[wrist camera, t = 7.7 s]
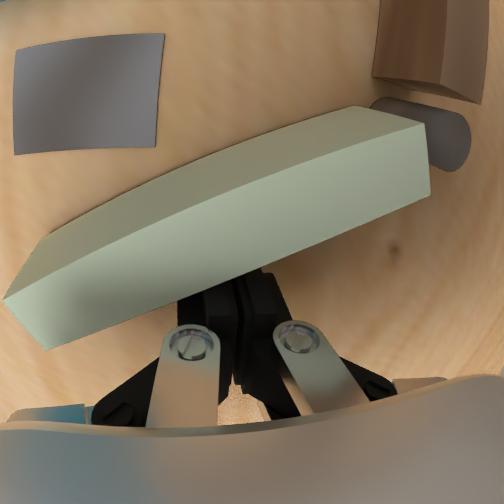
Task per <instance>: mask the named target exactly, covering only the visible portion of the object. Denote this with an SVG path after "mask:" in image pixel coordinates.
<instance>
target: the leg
mask: <svg viewBox="0 0 504 504" xmlns="http://www.w3.org/2000/svg"><path fill="white" fill-rule="evenodd" d="M430 195H431V192H430V175H429V162H428V151H427V141H426V133H425V125H424V123H421V122H418V121H415V120H411V119H408V118H404V117H400V116H397V115H393V114H389V113H385V112H381V111H377V110H373V109H369V108H364V107H360V106H351V107H348V108H344V109H341V110H337V111H334V112H330V113H327V114H324V115H320V116H317V117H314V118H311V119H307V120H304V121H301V122H298V123H295V124H292V125H289V126H286V127H283V128H280V129H277V130H274V131H271V132H269V133H266V134H263V135H260V136H257V137H255V138H252V139H249V140H247V141H244V142H241V143H239V144H236V145H233V146H231V147H228V148H226V149H223V150H221V151H218V152H216V153H213V154H211V155H208V156H206V157H203V158H201V159H199V160H196V161H194V162H191V163H189V164H187V165H185V166H182V167H180V168H178V169H175V170H173V171H171V172H169V173H166V174H164V175H162V176H160V177H158V178H155V179H153V180H151V181H149V182H147V183H145V184H143V185H141V186H139V187H136V188H134V189H132V190H130V191H128V192H126V193H124V194H122V195H120V196H118V197H116V198H114V199H112V200H110V201H108V202H106V203H105V204H103V205H101V206H99V207H97V208H95V209H93V210H91V211H89V212H88V213H86V214H84V215H82V216H80V217H78V218H77V219H75V220H73V221H71V222H69V223H68V224H66V225H64V226H62V227H61V228H59V229H57V230H55V231H54V232H52V233H50V234H49V235H47V236H45V237H44V238H42V239H41V240H40V242H39V243H38V245H37V246H36V248H35V249H34V251H33V252H32V253H31V255H30V256H29V258H28V259H27V261H26V262H25V264H24V265H23V267H22V269H21V270H20V272H19V273H18V275H17V276H16V278H15V280H14V281H13V283H12V285H11V286H10V288H9V290H8V291H7V293H6V295H5V296H4V298H3V300H2V302H3V303H4V304H5V305H6V307H7V308H8V309H9V310H10V312H11V313H12V314H13V315H14V316H15V318H16V319H17V320H18V321H19V322H20V323H21V325H22V326H23V327H24V328H25V329H26V330H27V331H28V332H29V334H30V335H31V336H32V337H33V338H34V339H35V340H36V341H37V342H38V343H39V344H40V345H41V347H42V348H43V349H44V350H45V351H47V350H50V349H53V348H55V347H58V346H61V345H63V344H66V343H69V342H71V341H74V340H77V339H79V338H82V337H85V336H87V335H90V334H93V333H95V332H98V331H100V330H103V329H106V328H108V327H111V326H113V325H116V324H119V323H121V322H124V321H126V320H129V319H132V318H134V317H137V316H139V315H142V314H144V313H147V312H150V311H152V310H155V309H157V308H160V307H162V306H165V305H167V304H170V303H173V302H175V301H178V300H180V299H183V298H185V297H188V296H190V295H193V294H195V293H198V292H200V291H203V290H205V289H208V288H210V287H213V286H215V285H218V284H220V283H223V282H225V281H228V280H230V279H233V278H235V277H238V276H240V275H242V274H245V273H247V272H250V271H252V270H255V269H257V268H260V267H262V266H265V265H267V264H269V263H272V262H274V261H277V260H279V259H282V258H284V257H286V256H289V255H291V254H294V253H296V252H299V251H301V250H303V249H306V248H308V247H311V246H313V245H315V244H318V243H320V242H323V241H325V240H327V239H330V238H332V237H334V236H337V235H339V234H342V233H344V232H346V231H349V230H351V229H353V228H356V227H358V226H360V225H363V224H365V223H367V222H370V221H372V220H374V219H377V218H379V217H381V216H384V215H386V214H388V213H391V212H393V211H395V210H398V209H400V208H402V207H405V206H407V205H409V204H412V203H414V202H416V201H418V200H421V199H423V198H425V197H428V196H430Z"/></svg>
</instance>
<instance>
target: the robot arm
mask: <svg viewBox="0 0 504 504" xmlns="http://www.w3.org/2000/svg"><path fill="white" fill-rule="evenodd" d="M177 313H178V327H176V328H174V329H172V330H171V331H170V332H169V333H168V334H167V335H166V336H165V338H164V341H163V345H162V349H161V353H160V357H158V358H157V359H156V360H154V361H153V362H152V363H150V364H149V365H148V366H146V367H145V368H144V369H142V370H141V371H139V372H138V373H137V374H135V375H134V376H133V377H131V378H130V379H128V380H127V381H126V382H124V383H123V384H122V385H120V386H119V387H117V388H116V389H115V390H113V391H112V392H110V393H109V394H108V395H106V396H105V397H103V398H102V399H101V400H100V401H99V402H98V403H97V404H96V405H95V406H90V407H85V405H84V404H76V405H67V406H56V407H44V408H30V409H22V410H18V411H16V412H15V413H13V414H12V415H11V416H10V418H9V419H8V421H7V423H1V424H0V504H504V377H503V376H499V375H495V374H472V375H466V376H460V377H455V378H452V379H446V378H442V377H431V378H409V379H393V380H392V382H390V381H389V380H387V379H386V378H384V377H382V376H380V375H378V374H376V373H374V372H371V371H369V370H367V369H365V368H363V367H361V366H358V365H356V364H354V363H352V362H350V361H348V360H346V359H344V358H342V357H339V356H338V355H337V353H336V352H335V350H334V349H333V348H332V346H331V345H330V343H329V342H328V340H327V339H326V338H325V336H324V335H323V333H322V332H321V331H320V330H319V329H318V328H317V327H315V326H313V325H312V324H310V323H307V322H304V321H298V320H292V317H291V315H290V312H289V310H288V308H287V305H286V303H285V300H284V298H283V296H282V293H281V291H280V289H279V286H278V284H277V281H276V279H275V277H274V275H273V274H272V273H262V270H261V268H257V269H255V270H252V271H250V272H247V273H245V274H242V275H240V276H238V277H235V278H233V279H230V280H228V281H225V282H223V283H220V284H218V285H215V286H213V287H210V288H208V289H205V290H203V291H200V292H198V293H195V294H193V295H190V296H188V297H185V298H183V299H180V300H178V301H177ZM232 373H233V378H234V383H235V385H241V389H242V393H243V394H249V395H251V396H253V397H254V398H256V399H258V402H257V403H258V407H259V410H260V412H261V414H262V416H263V419H264V422H255V423H246V424H234V425H222V426H217V419H218V405H219V404H220V403H221V402H223V401H224V400H225V399H226V398H227V397H228V392H229V385H231V379H232Z"/></svg>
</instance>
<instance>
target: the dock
mask: <svg viewBox="0 0 504 504" xmlns="http://www.w3.org/2000/svg"><path fill="white" fill-rule="evenodd" d="M488 31H489V0H381V6H380V16H379V26H378V34H377V43H376V50H375V58H374V65H373V72H372V76H373V77H376V78H379V79H382V80H385V81H388V82H391V83H394V84H397V85H400V86H402V87H405V88H408V89H411V90H413V91H419V92H425V93H430V94H435V95H440V96H445V97H450V98H454V99H459V100H463V101H467V102H471V103H475V104H479V105H481V101H482V94H483V87H484V80H485V71H486V61H487V49H488ZM164 37H165V34H124V35H109V36H98V37H88V38H80V39H73V40H66V41H60V42H54V43H48V44H43V45H38V46H33V47H28V48H24V49H20V50H16V55H15V66H14V82H13V139H14V155H21V154H30V153H39V152H50V151H63V150H77V149H96V148H127V147H155V141H156V121H157V106H158V93H159V82H160V71H161V62H162V53H163V44H164ZM370 109H373V110H377V111H381V112H385V113H389V114H393V115H397V116H400V117H404V118H408V119H411V120H415V121H418V122H421V123H424V125H425V133H426V141H427V151H428V162H429V164H431V165H433V166H435V167H437V168H439V169H441V170H443V171H446V172H452V171H455V170H457V169H459V168H460V167H461V166H462V165H463V163H464V162H465V160H466V159H467V157H468V154H469V151H470V147H471V132H470V128H469V125H468V123H467V121H466V120H465V118H464V117H463V116H462V115H460V114H458V113H455V112H451V111H447V110H443V109H439V108H435V107H431V106H427V105H423V104H418V103H414V102H409V101H404V100H399V99H394V98H388V97H385V98H381V99H378V100H377V101H376V102H374V103H373V105H372V106H371V108H370Z"/></svg>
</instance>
